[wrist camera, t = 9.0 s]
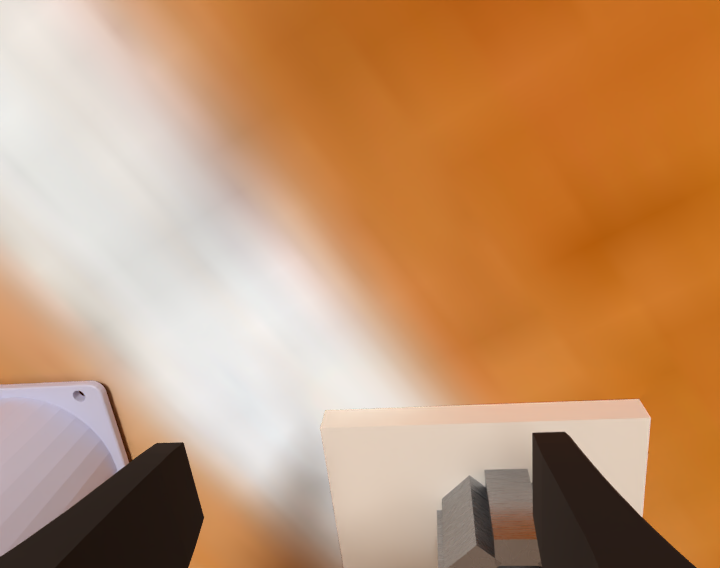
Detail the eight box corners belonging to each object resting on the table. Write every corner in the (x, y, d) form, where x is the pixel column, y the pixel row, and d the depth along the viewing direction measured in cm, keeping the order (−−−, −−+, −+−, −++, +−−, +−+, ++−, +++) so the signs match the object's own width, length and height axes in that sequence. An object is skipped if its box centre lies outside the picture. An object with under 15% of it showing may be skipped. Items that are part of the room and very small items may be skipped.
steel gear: (442, 576, 24) (445, 654, 21) (433, 470, 22) (434, 540, 19) (578, 576, 23) (601, 657, 20) (581, 467, 21) (607, 538, 18)
